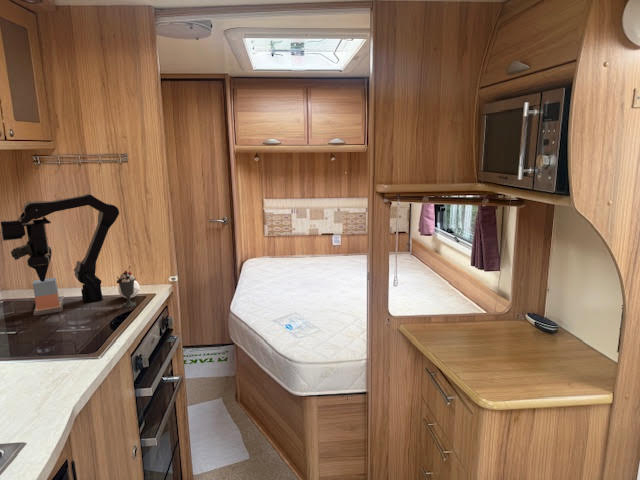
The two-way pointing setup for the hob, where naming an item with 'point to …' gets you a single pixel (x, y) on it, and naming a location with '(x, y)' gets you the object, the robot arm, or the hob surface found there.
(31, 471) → the hob surface
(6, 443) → the hob surface
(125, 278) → the sundae
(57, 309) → the build plate
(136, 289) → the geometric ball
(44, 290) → the slate brick
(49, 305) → the terracotta brick
